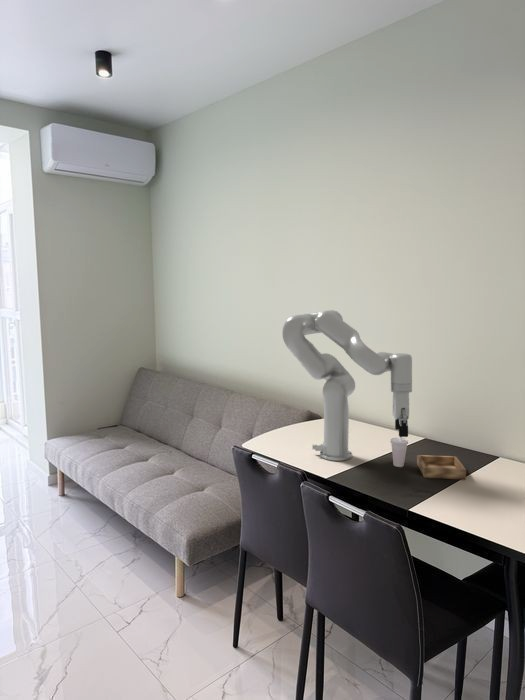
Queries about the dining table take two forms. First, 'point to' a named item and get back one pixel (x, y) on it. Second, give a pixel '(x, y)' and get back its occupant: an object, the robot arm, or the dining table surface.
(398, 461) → the smoothie
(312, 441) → the dining table surface
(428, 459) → the box
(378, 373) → the robot arm
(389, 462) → the dining table surface
